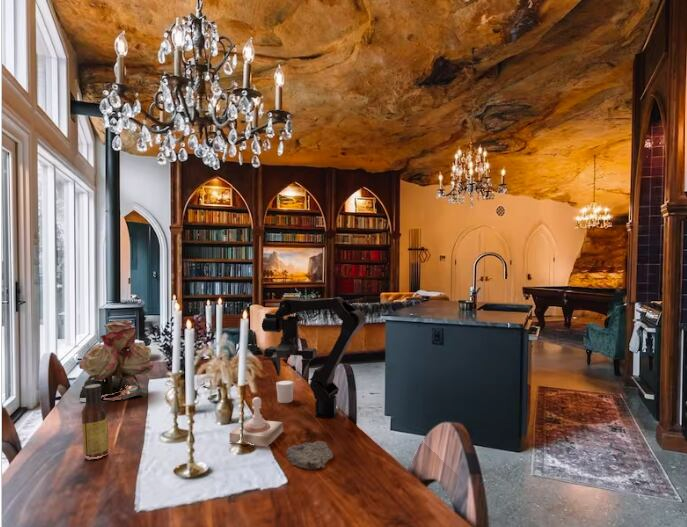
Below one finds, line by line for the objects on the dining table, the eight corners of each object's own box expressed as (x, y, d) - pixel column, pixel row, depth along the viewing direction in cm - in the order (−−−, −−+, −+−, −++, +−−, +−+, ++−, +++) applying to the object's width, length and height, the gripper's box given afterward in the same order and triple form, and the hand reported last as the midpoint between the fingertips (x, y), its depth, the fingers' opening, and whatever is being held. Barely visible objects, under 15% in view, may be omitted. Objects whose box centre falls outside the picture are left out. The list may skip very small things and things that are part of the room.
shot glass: (292, 403, 172) (292, 385, 172) (274, 403, 172) (274, 385, 172) (295, 397, 179) (295, 380, 179) (277, 397, 179) (277, 380, 179)
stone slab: (290, 475, 117) (290, 464, 117) (284, 448, 133) (284, 437, 133) (337, 470, 119) (338, 459, 119) (326, 444, 136) (326, 434, 136)
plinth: (282, 431, 145) (282, 421, 145) (266, 447, 133) (266, 436, 133) (248, 428, 148) (247, 418, 148) (229, 443, 136) (229, 432, 136)
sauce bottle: (114, 453, 130) (112, 383, 129) (95, 463, 124) (93, 389, 123) (96, 450, 132) (94, 381, 131) (77, 459, 126) (75, 387, 126)
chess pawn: (246, 426, 141) (245, 397, 141) (260, 422, 144) (260, 393, 144) (253, 431, 137) (252, 401, 137) (268, 427, 140) (267, 397, 140)
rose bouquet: (74, 407, 170) (72, 327, 169) (95, 386, 198) (94, 316, 198) (148, 401, 176) (146, 323, 176) (159, 381, 205) (157, 314, 204)
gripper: (256, 336, 159) (257, 380, 160) (307, 338, 154) (307, 384, 155) (269, 331, 170) (270, 372, 170) (317, 332, 165) (318, 375, 166)
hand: (290, 376), depth 165 cm, fingers open, 9 cm apart
